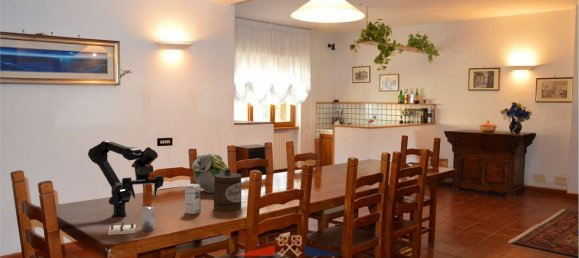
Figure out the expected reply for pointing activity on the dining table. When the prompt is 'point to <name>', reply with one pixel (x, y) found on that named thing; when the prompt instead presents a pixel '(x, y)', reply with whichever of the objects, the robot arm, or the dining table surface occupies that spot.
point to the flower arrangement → (208, 170)
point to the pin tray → (122, 229)
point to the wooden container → (227, 191)
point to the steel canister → (147, 218)
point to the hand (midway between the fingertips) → (145, 197)
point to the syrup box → (192, 199)
